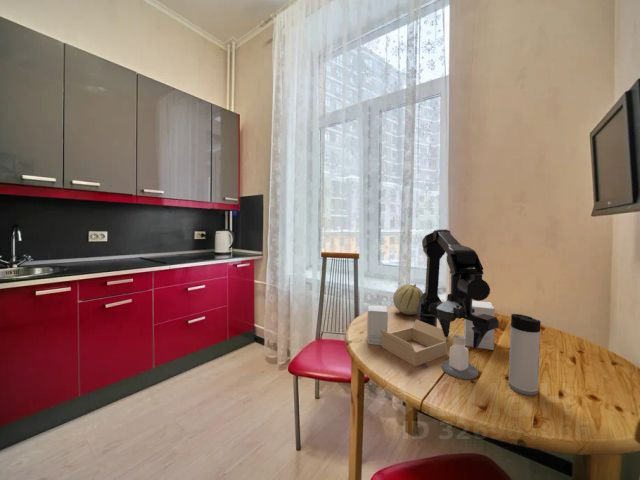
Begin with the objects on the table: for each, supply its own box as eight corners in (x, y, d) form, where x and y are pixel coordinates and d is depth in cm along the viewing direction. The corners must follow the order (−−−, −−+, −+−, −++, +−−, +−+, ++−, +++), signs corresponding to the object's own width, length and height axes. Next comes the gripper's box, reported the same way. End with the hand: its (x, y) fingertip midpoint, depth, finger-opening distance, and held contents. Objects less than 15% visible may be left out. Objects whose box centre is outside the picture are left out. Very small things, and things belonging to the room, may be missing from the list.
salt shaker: (460, 372, 79) (461, 341, 78) (448, 366, 82) (449, 336, 82) (468, 369, 80) (469, 338, 80) (456, 363, 84) (457, 333, 83)
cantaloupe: (388, 309, 139) (389, 281, 138) (415, 308, 140) (416, 280, 139) (400, 319, 124) (400, 287, 123) (430, 318, 126) (431, 286, 125)
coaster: (454, 358, 88) (454, 356, 88) (485, 373, 79) (485, 371, 79) (434, 366, 83) (434, 364, 83) (464, 383, 74) (464, 381, 74)
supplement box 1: (387, 346, 97) (387, 311, 97) (367, 344, 99) (367, 310, 98) (386, 337, 105) (387, 305, 104) (367, 336, 106) (367, 304, 105)
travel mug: (501, 382, 75) (504, 312, 73) (523, 381, 75) (526, 311, 74) (520, 397, 68) (523, 320, 67) (544, 395, 69) (547, 319, 68)
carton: (415, 337, 104) (415, 318, 104) (449, 353, 91) (450, 332, 91) (378, 348, 96) (378, 328, 95) (410, 367, 82) (411, 344, 82)
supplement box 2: (490, 340, 101) (491, 301, 100) (494, 351, 93) (495, 308, 92) (463, 336, 105) (464, 299, 104) (464, 346, 97) (465, 305, 96)
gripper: (417, 288, 84) (416, 336, 85) (476, 303, 68) (474, 363, 68) (440, 284, 89) (439, 330, 90) (500, 297, 73) (498, 353, 74)
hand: (460, 342), depth 80 cm, fingers open, 9 cm apart
